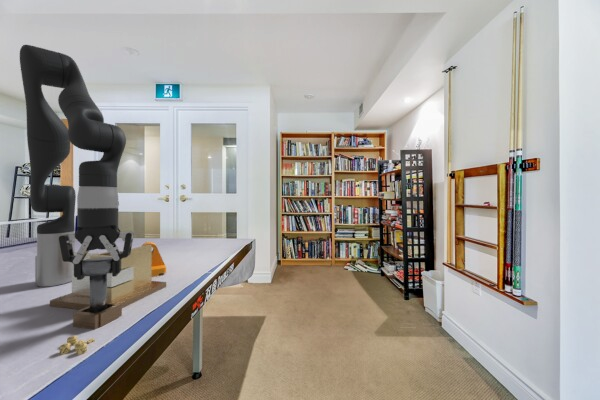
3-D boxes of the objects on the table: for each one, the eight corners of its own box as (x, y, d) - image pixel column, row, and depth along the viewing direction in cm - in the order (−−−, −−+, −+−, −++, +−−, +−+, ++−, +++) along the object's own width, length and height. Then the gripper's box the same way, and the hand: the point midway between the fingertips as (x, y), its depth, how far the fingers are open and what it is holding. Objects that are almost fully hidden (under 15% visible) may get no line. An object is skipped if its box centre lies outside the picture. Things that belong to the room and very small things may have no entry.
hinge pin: (74, 325, 56) (74, 262, 56) (100, 313, 62) (100, 256, 62) (96, 328, 55) (96, 263, 55) (120, 315, 61) (120, 257, 61)
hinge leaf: (133, 292, 71) (133, 252, 71) (111, 301, 65) (111, 258, 64) (86, 287, 74) (86, 249, 74) (60, 296, 68) (60, 255, 68)
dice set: (83, 357, 46) (83, 347, 46) (51, 361, 45) (51, 350, 45) (99, 342, 51) (99, 332, 51) (71, 344, 50) (71, 335, 50)
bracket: (132, 280, 88) (132, 246, 88) (132, 274, 94) (131, 243, 94) (166, 274, 94) (166, 243, 94) (164, 270, 100) (164, 240, 100)
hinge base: (13, 318, 59) (13, 261, 59) (115, 282, 85) (115, 242, 85) (96, 329, 55) (96, 267, 55) (176, 287, 81) (176, 245, 80)
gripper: (50, 207, 52) (50, 286, 52) (131, 206, 58) (131, 278, 58) (66, 206, 59) (66, 276, 59) (137, 205, 65) (137, 269, 65)
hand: (98, 276), depth 59 cm, fingers closed on hinge pin, 6 cm apart
